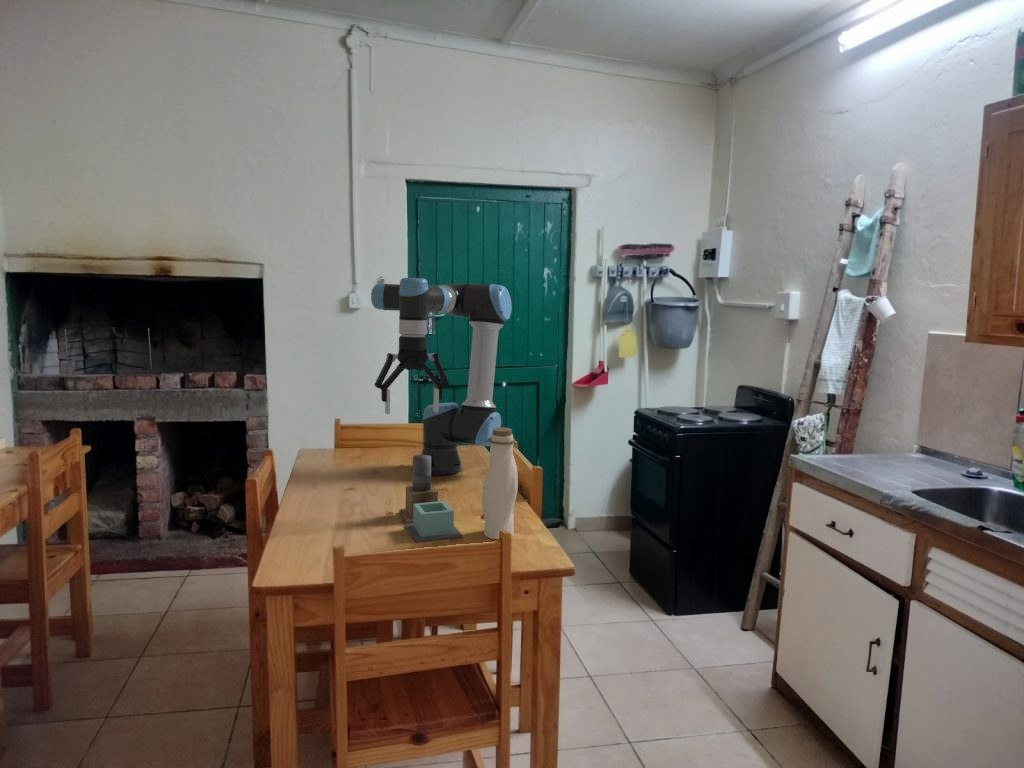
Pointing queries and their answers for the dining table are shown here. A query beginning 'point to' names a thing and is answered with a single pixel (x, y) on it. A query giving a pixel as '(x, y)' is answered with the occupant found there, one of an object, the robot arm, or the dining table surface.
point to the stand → (419, 487)
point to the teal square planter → (433, 518)
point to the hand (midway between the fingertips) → (412, 412)
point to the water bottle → (500, 484)
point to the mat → (430, 538)
